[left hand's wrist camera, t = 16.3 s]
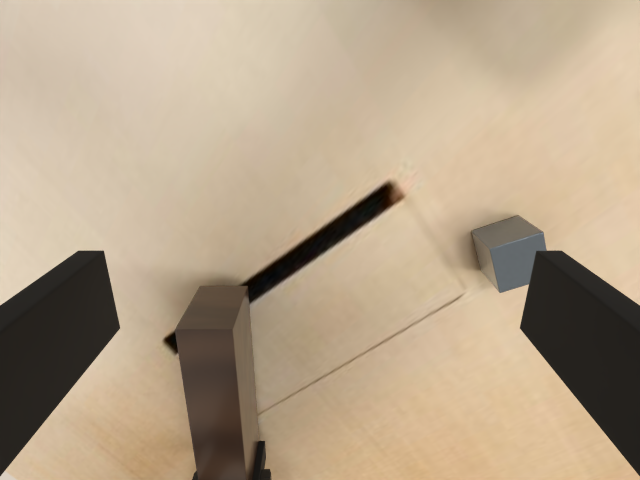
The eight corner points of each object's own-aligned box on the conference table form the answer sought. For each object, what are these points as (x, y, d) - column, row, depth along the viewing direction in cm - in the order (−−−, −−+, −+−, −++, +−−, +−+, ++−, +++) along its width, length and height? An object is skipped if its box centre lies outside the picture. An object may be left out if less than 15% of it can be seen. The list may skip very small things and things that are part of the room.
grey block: (470, 230, 42) (489, 248, 38) (518, 214, 42) (543, 231, 37) (480, 271, 44) (499, 293, 39) (526, 256, 44) (551, 277, 39)
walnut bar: (200, 285, 42) (174, 329, 35) (247, 285, 42) (232, 329, 35) (222, 466, 52) (205, 530, 44) (261, 466, 52) (251, 530, 44)
